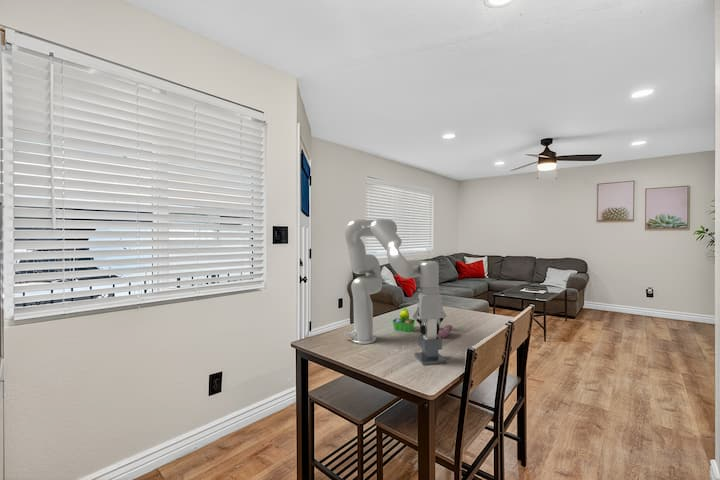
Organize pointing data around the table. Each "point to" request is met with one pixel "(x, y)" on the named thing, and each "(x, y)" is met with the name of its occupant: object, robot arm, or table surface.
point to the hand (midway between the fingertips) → (429, 333)
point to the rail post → (430, 329)
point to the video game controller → (445, 331)
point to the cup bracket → (430, 351)
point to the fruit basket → (403, 322)
